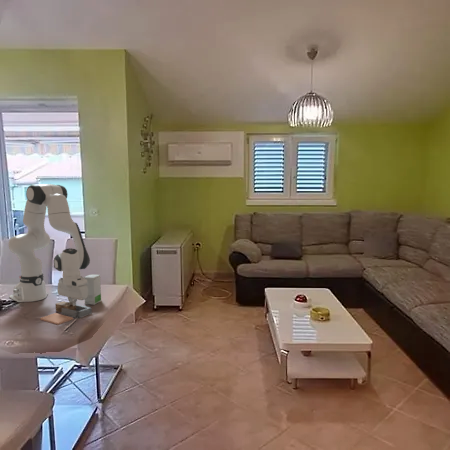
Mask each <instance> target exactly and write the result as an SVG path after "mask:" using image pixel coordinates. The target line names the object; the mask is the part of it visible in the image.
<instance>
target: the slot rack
mask: <svg viewBox="0 0 450 450" xmlns="http://www.w3.org/2000/svg"><path fill="white" fill-rule="evenodd" d="M91 314H93V312H92V307H91V306H86V305H82V304H78V303H76V311H75V310H71V309H67V308H62V312H61V315H65V316H69V317H72V318H73V319H79V318H83V317H86V316H88V315H91Z"/></svg>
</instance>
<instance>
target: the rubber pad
mask: <svg viewBox="0 0 450 450" xmlns="http://www.w3.org/2000/svg"><path fill="white" fill-rule="evenodd" d="M39 320H40V321H43V320H44V322H46V323H50V324H54V325H57V326H58V325H61V324H64V323H67V322H69V321H73V320H74V317H71V316H67V315H63V314H62V313H57V312H54V313H51V314H48V315H45V316H42V317H39Z"/></svg>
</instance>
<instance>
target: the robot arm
mask: <svg viewBox="0 0 450 450" xmlns="http://www.w3.org/2000/svg"><path fill="white" fill-rule="evenodd" d="M25 196H26V199H27V200H26V202H25V206H24V211H23V212H24V213H23V218H22V223H23V225H24V226H26V227H27V229H28V231H27V232H26V233H21V234H16V235H14V236H12V237H11V238H10V239H9V241H8V249H9V250H10V252H11V253H13V254H15V255H16V257H17V258H18V260H19V263H20V272H21V275H19V276H18V277H19V282H18V283H17V284H16V285H15V286H14V287H13V290H12V291H13V293H12V294H10V295H9V296H8V298H10V299H11V300H13V301H15V302H17V303H27V302H29V303H30V302H37V301H41V300H45V299H46V298H47V297H48V295H49V293H48V292H47V287H46V282H45V281H44V273H43V264H42V263H43V262H42V260H41V259H40V258H38V257H37V256H36V254H35V251H39V250H43V249H45V248H47V247H48V246H49V245H50V243H51V236H50V235H49V234H48V233H47V231H46V230H45V219H46V214H47V217H48V222H49V225H50V226H51V227H52V228H53V229H54V230H57V231H58V232H62V233H66V234H68V235H70V236H71V238H72V239H73V242H74V245H75V248H71V247H70V248H66V249H65V248H64V249H63V250H62V252H60V253H57V254H56V256H54V257H53V266H54V267H53V268H54V269H55V270H57V271H59V272H62V277H60V278H59V279H58V283H57V294H58V296H62V297H65V298H67V301H68V302H70V305H71V306H76V304H77V301H78V300H79V301H85V299H87V298H88V287H87V285H86V284H87V280H86V279H84V277H83V276H82V275H81V270H86V269H87V267H88V266H89V265H90V263H91V259H90V255H89V252H88V251H87V247H86V245H85V242H84V239H83V235H82V232H81V230H80V227H79V225H78V223H77V222H75V221H74V220H73V219H72V216H71V210H70V205H69V202H68V200H67V198H68V190H67V188H66V187H65V186H63V185H60V184H51V183H50V184H49V183H45V184H44V183H41V184H36V183H34V184H31V185H29V186H28V187H27V189H26V190H25Z"/></svg>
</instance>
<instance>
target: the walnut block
mask: <svg viewBox="0 0 450 450" xmlns="http://www.w3.org/2000/svg"><path fill="white" fill-rule="evenodd" d="M62 308H67V309H71V310H75V311H76V306H71V305H70V302H69V301H68V302H67V301H64V300H63V301H59V302H57V303H55V311H56V312H59V313H62Z"/></svg>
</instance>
